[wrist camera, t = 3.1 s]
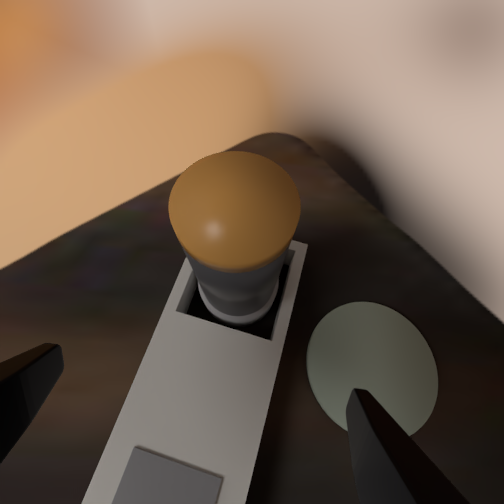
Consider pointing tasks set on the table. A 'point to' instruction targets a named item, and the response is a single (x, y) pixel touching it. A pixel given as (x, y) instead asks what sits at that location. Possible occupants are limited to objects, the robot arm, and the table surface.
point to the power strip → (195, 406)
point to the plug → (235, 231)
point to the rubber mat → (372, 363)
